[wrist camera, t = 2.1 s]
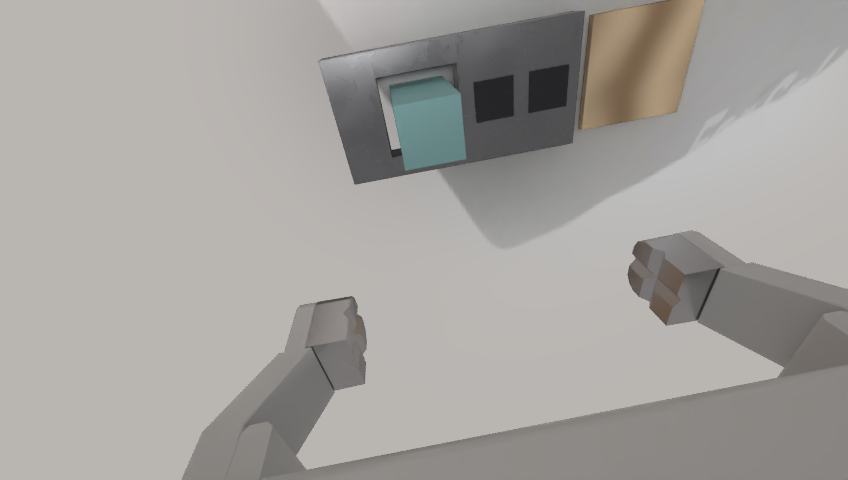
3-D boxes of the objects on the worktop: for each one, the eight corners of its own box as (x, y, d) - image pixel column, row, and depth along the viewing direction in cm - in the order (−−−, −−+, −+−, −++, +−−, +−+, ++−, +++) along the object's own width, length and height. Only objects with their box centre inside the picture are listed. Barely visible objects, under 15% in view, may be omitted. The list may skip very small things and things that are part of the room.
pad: (700, -6, 27) (707, -7, 26) (672, 110, 32) (676, 112, 31) (589, 15, 27) (593, 15, 26) (578, 128, 32) (581, 130, 31)
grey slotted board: (572, 11, 27) (585, 10, 25) (562, 136, 32) (572, 143, 30) (322, 58, 26) (317, 61, 25) (356, 175, 32) (354, 185, 30)
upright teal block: (441, 75, 28) (460, 93, 21) (447, 128, 31) (466, 159, 24) (389, 85, 28) (392, 106, 21) (399, 137, 31) (405, 170, 24)
